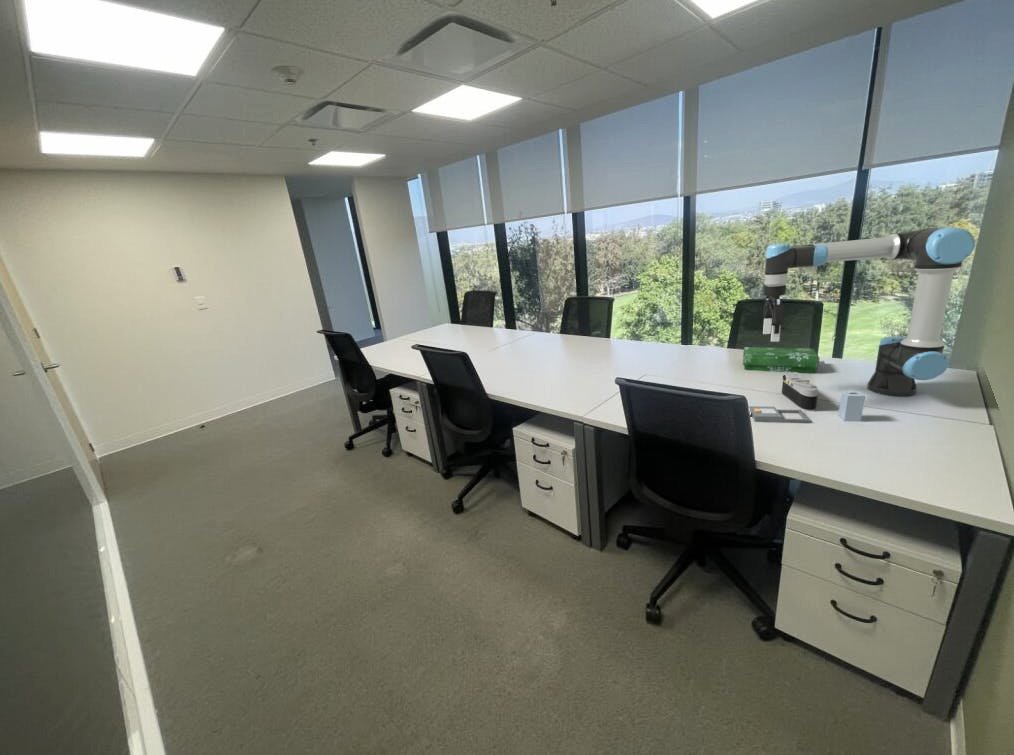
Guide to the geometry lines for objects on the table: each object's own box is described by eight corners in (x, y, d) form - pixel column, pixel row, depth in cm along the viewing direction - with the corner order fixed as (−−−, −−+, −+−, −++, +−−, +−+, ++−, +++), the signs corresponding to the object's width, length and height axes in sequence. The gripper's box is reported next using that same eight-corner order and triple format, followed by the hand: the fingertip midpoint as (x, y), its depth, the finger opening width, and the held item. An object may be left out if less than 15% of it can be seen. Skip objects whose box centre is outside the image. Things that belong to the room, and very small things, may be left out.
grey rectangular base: (800, 412, 160) (801, 405, 159) (809, 423, 151) (810, 415, 150) (740, 411, 167) (740, 404, 166) (745, 421, 158) (746, 414, 157)
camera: (828, 411, 159) (831, 387, 156) (800, 411, 161) (803, 388, 158) (801, 392, 179) (803, 370, 176) (776, 392, 181) (778, 371, 178)
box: (741, 373, 210) (743, 355, 207) (742, 363, 224) (743, 346, 222) (817, 377, 194) (820, 357, 191) (813, 366, 208) (815, 347, 205)
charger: (854, 416, 152) (858, 390, 149) (860, 421, 148) (865, 395, 145) (838, 415, 154) (841, 390, 151) (844, 421, 149) (848, 395, 146)
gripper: (757, 282, 172) (753, 331, 178) (771, 289, 150) (767, 345, 156) (777, 280, 169) (773, 330, 176) (795, 287, 147) (790, 344, 153)
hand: (770, 337), depth 166 cm, fingers open, 13 cm apart
